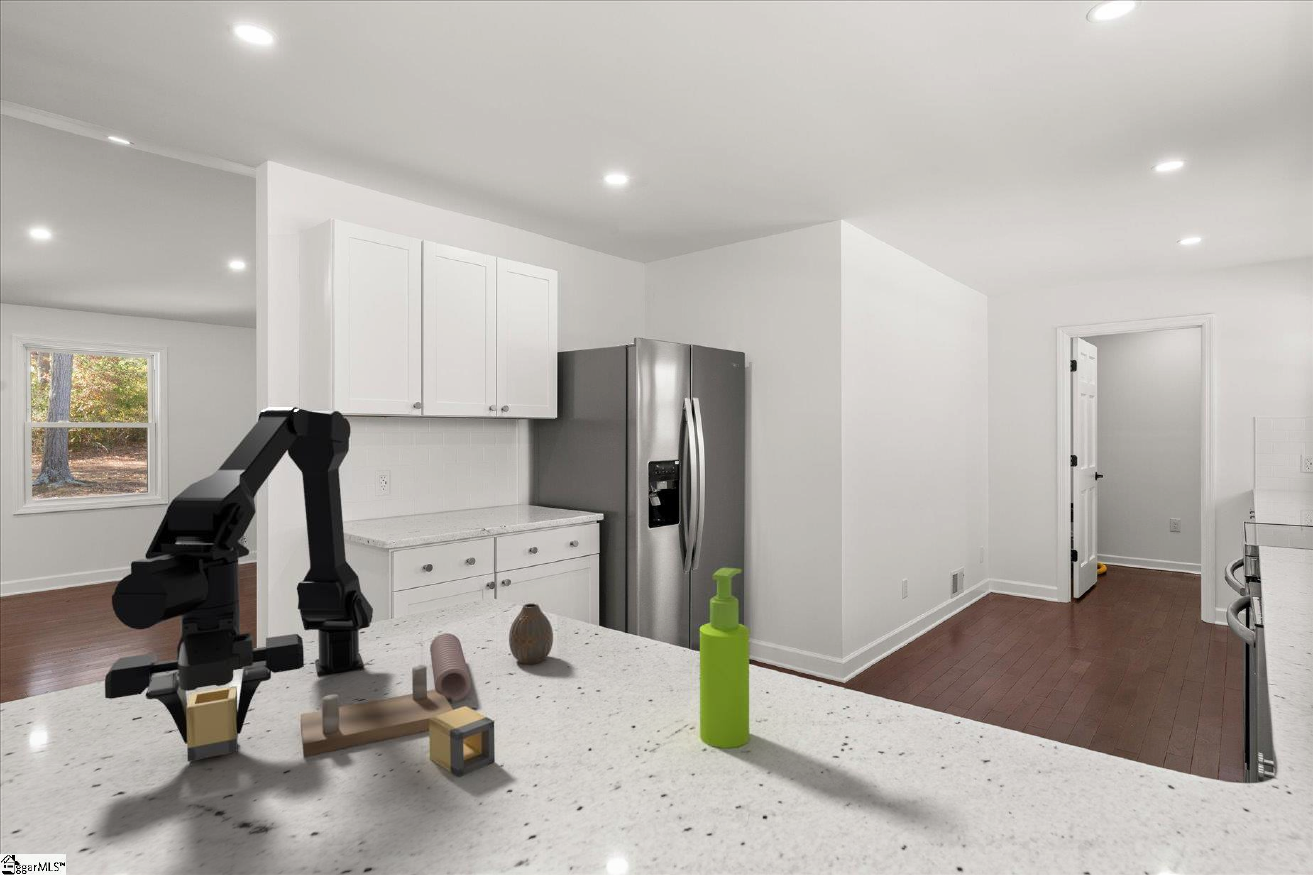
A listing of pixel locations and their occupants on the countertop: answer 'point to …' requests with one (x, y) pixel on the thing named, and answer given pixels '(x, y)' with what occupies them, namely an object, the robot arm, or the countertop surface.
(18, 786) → the countertop surface
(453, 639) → the coil
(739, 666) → the soap dispenser
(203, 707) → the loose sleeve
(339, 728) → the pin board
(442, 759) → the tan angular part
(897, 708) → the countertop surface
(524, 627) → the vase
